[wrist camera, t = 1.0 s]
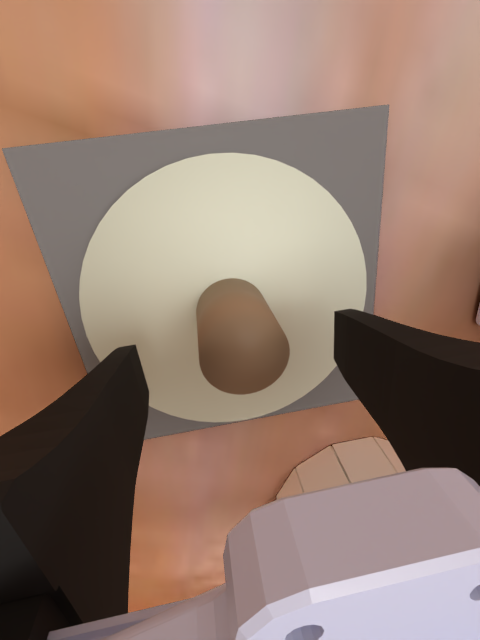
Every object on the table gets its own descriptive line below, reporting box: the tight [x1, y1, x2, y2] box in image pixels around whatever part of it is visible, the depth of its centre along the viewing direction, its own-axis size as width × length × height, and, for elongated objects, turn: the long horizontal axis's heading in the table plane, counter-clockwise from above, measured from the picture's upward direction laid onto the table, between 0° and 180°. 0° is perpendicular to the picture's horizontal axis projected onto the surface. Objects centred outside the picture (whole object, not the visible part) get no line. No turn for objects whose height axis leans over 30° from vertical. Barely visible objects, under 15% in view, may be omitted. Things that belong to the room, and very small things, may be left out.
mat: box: [2, 105, 389, 440], centre depth 16 cm, size 15×15×1 cm
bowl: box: [276, 437, 406, 500], centre depth 23 cm, size 11×11×3 cm
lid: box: [79, 153, 367, 422], centre depth 14 cm, size 13×13×5 cm
